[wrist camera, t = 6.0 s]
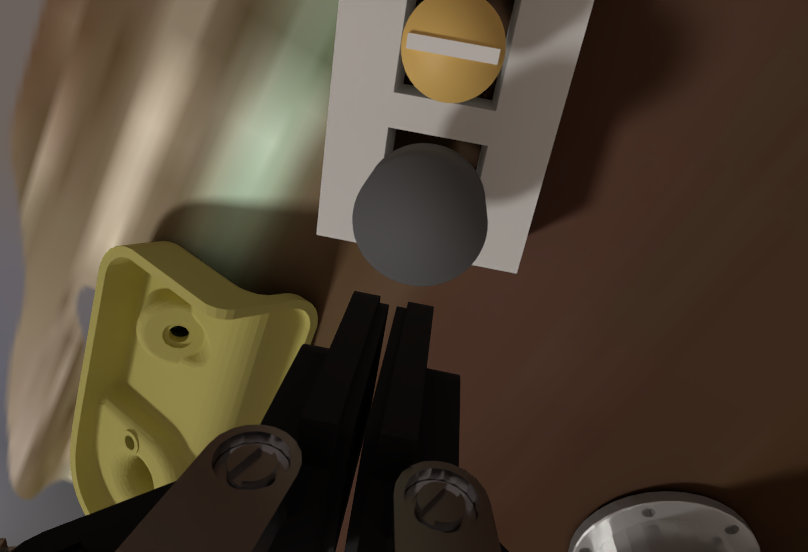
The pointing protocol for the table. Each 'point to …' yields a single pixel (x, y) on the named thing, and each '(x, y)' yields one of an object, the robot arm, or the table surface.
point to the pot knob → (453, 48)
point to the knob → (421, 215)
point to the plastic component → (172, 368)
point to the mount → (450, 113)
